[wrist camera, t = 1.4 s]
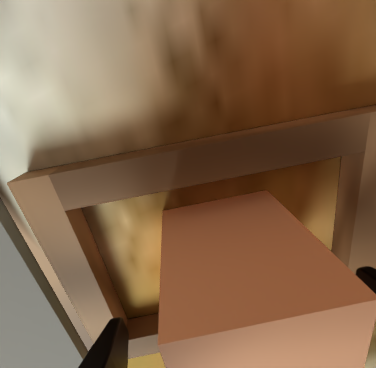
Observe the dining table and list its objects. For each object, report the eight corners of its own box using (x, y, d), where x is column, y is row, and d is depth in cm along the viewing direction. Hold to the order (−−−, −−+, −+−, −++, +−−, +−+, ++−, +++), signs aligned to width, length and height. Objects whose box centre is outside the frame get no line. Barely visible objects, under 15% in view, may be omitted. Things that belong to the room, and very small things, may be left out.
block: (269, 269, 12) (353, 412, 7) (182, 287, 12) (194, 446, 7) (266, 189, 10) (380, 298, 5) (162, 210, 10) (157, 344, 5)
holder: (350, 291, 13) (367, 308, 12) (109, 341, 13) (104, 363, 12) (380, 103, 9) (410, 104, 8) (26, 172, 9) (6, 183, 8)
